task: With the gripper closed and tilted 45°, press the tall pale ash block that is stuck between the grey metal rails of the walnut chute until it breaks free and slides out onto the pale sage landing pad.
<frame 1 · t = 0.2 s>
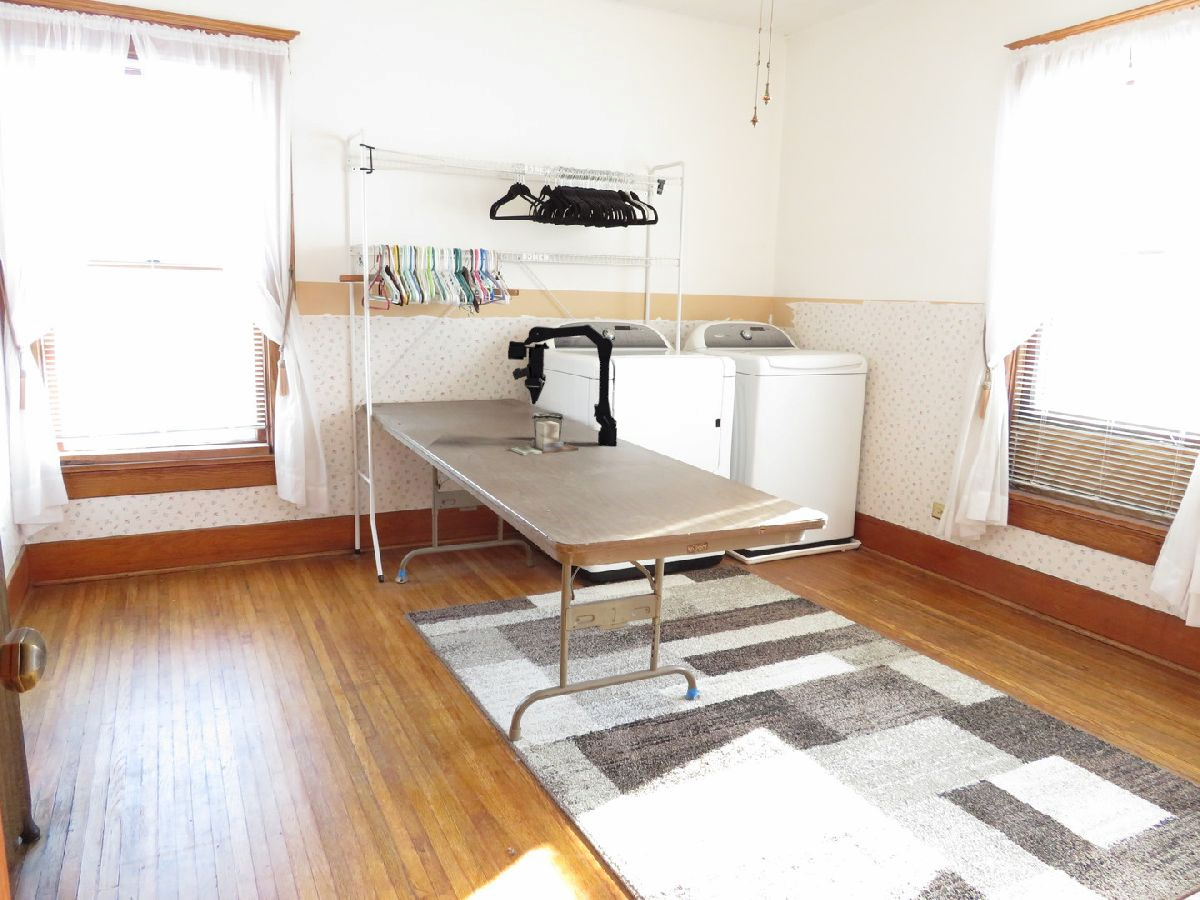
hand: (534, 402, 322), 15 cm above the table, tool pointing down, fingers open, 9 cm apart
food container: (548, 439, 332), on the table
jammed block: (547, 435, 310), point 5 cm above the table, slide at 0.0 cm
chute: (544, 450, 310), on the table
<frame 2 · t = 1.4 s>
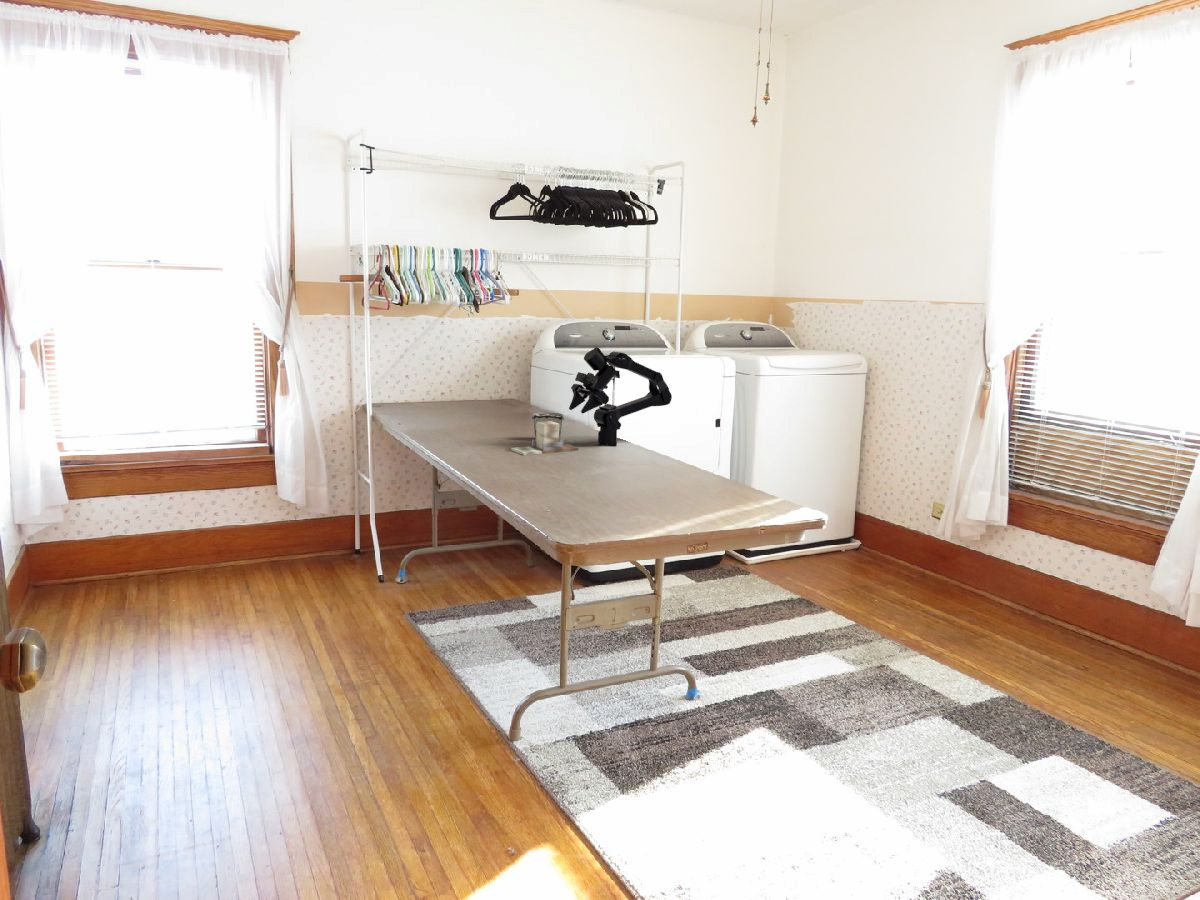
hand: (575, 411, 315), 13 cm above the table, tool tilted 45°, fingers open, 8 cm apart
nothing on the table moved.
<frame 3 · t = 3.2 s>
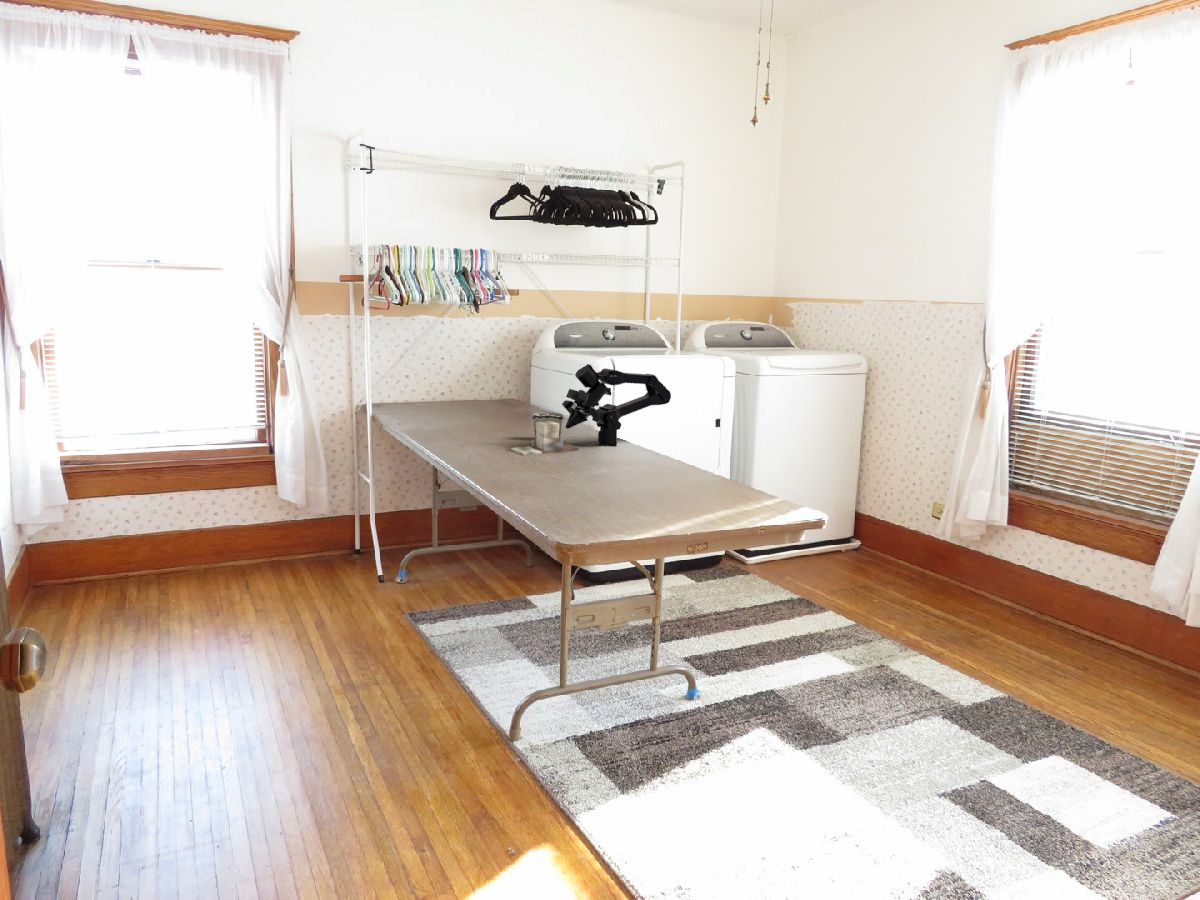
hand: (566, 427, 314), 8 cm above the table, tool tilted 45°, fingers closed
nothing on the table moved.
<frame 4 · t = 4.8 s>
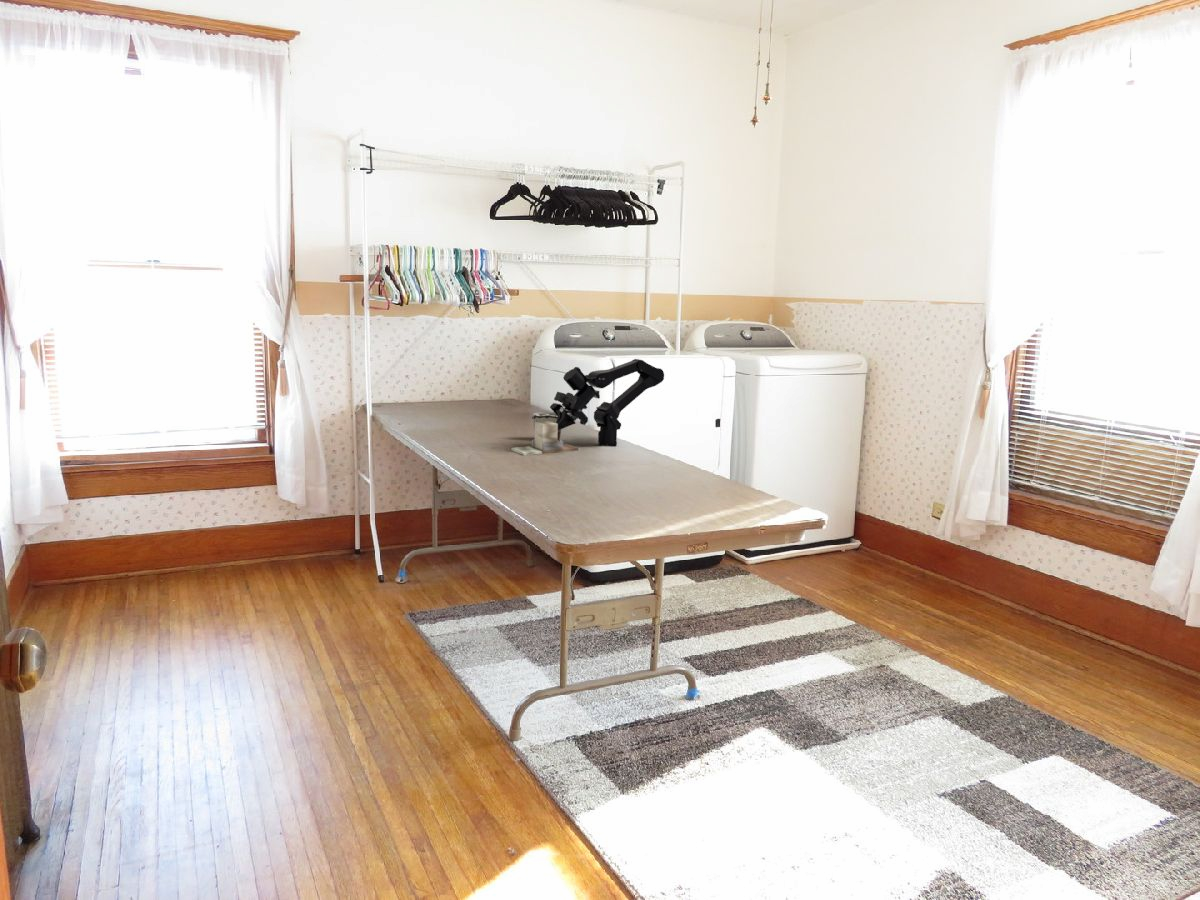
hand: (554, 430, 311), 7 cm above the table, tool tilted 45°, fingers closed, pressing on jammed block
jammed block: (546, 435, 309), point 5 cm above the table, slide at 0.7 cm, touching gripper
everything else where it was.
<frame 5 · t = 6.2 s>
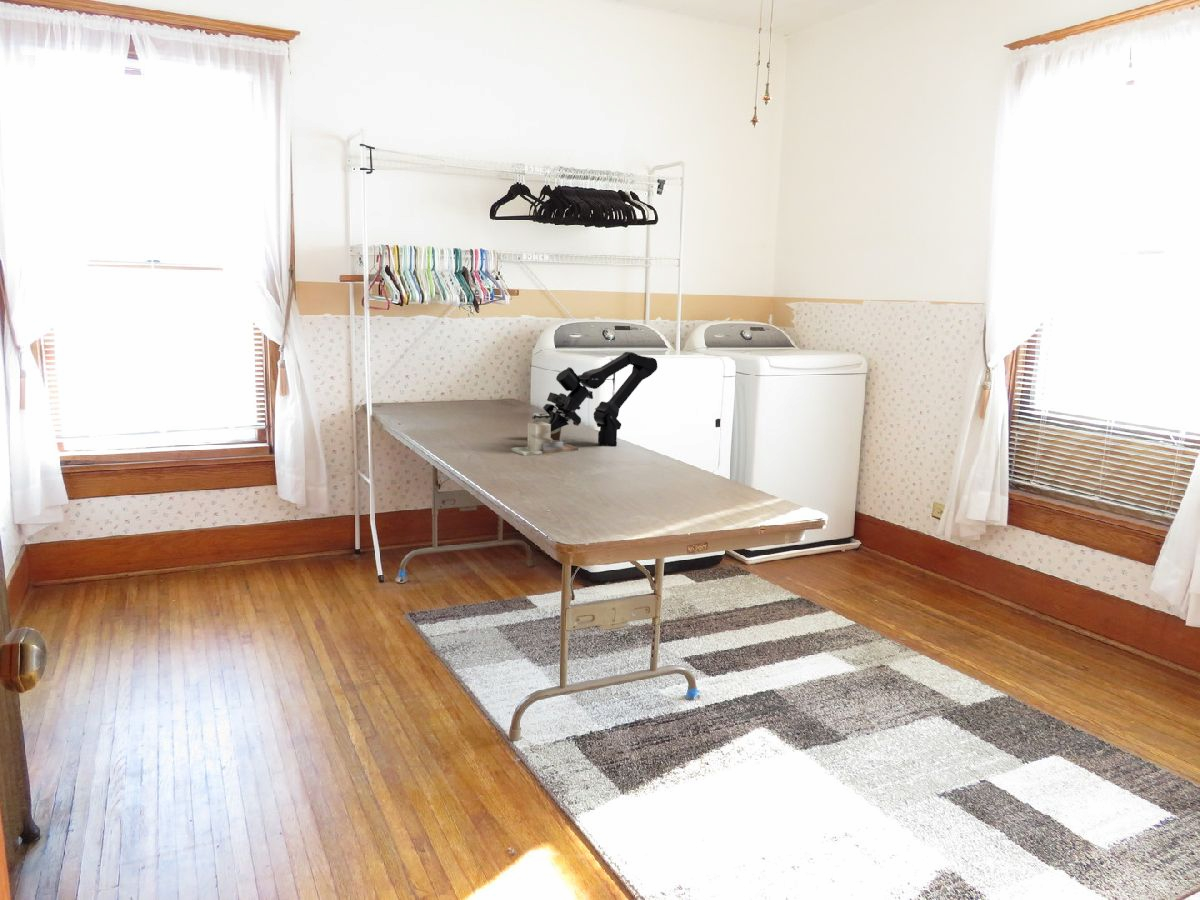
hand: (547, 431, 309), 7 cm above the table, tool tilted 45°, fingers closed, pressing on jammed block
jammed block: (539, 435, 308), point 5 cm above the table, slide at 3.5 cm, touching gripper
everything else where it was.
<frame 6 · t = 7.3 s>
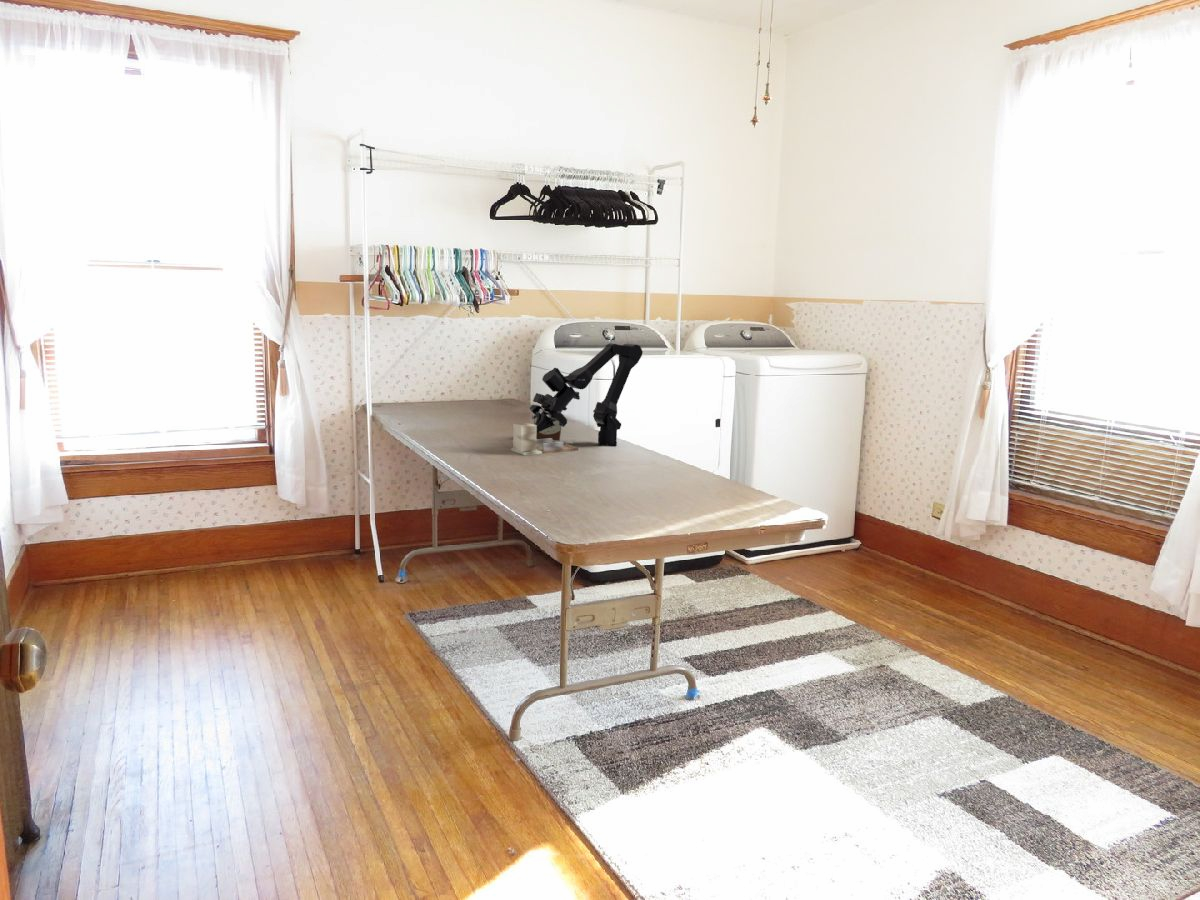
hand: (533, 432, 306), 7 cm above the table, tool tilted 45°, fingers closed, pressing on jammed block
jammed block: (524, 437, 305), point 5 cm above the table, slide at 9.2 cm, touching gripper
everything else where it was.
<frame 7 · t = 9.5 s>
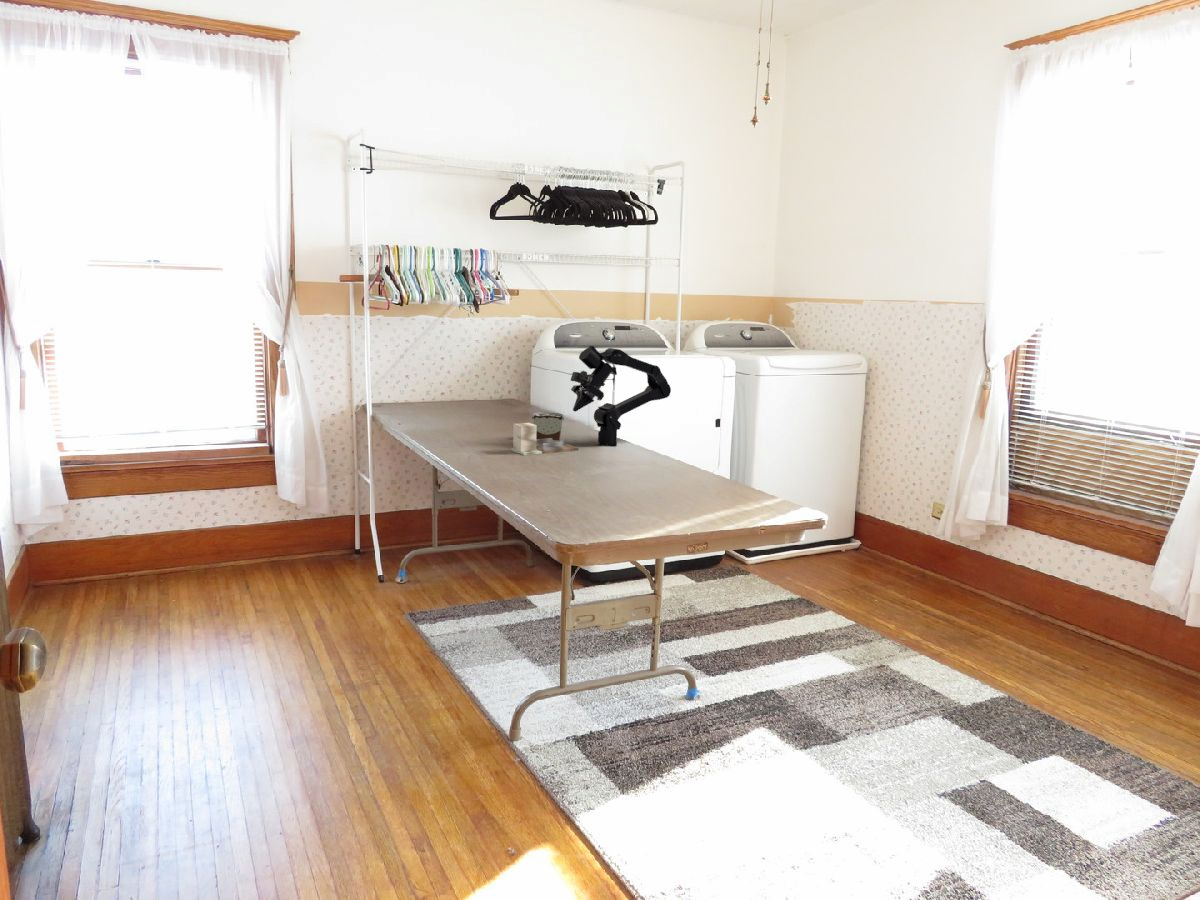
hand: (573, 410, 315), 13 cm above the table, tool tilted 40°, fingers closed
jammed block: (524, 437, 305), point 5 cm above the table, slide at 9.2 cm
everything else where it was.
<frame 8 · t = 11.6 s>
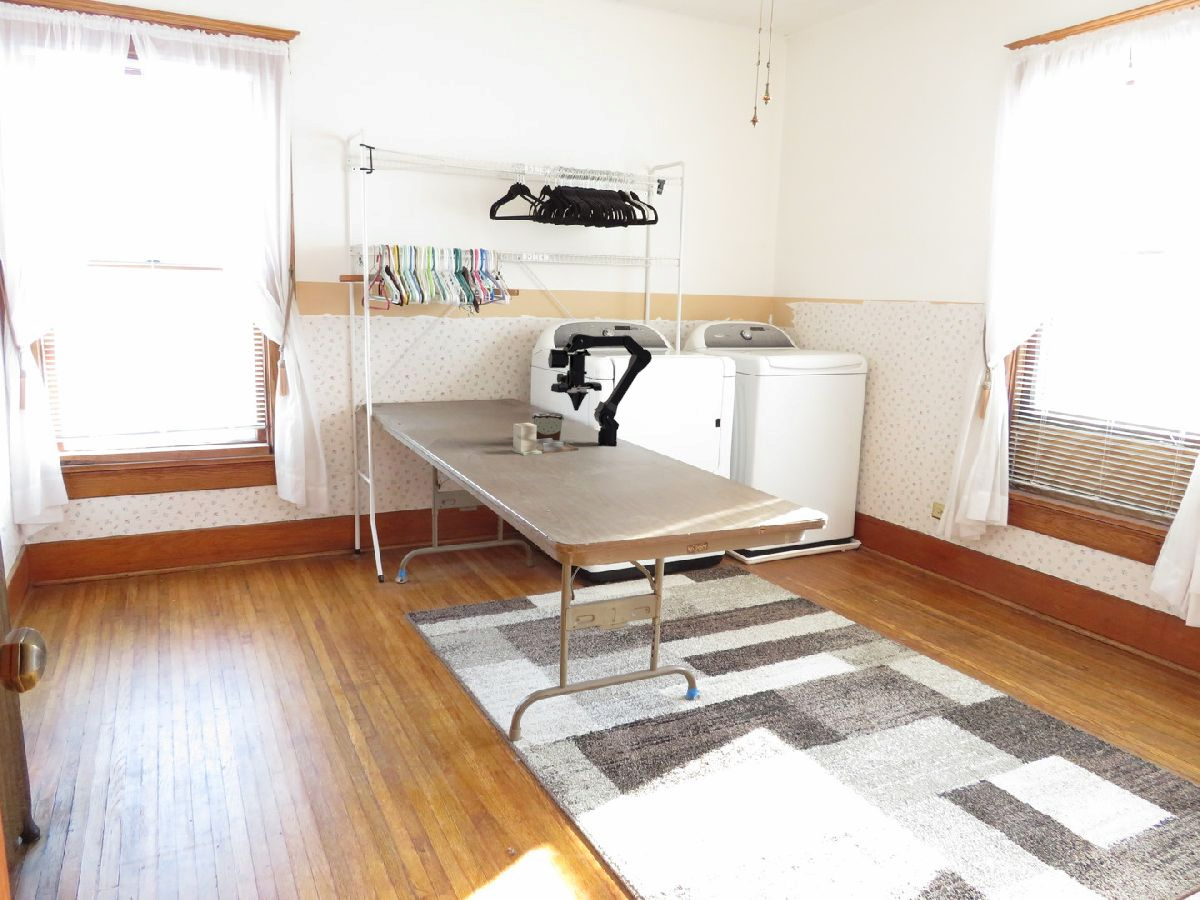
hand: (576, 410, 319), 13 cm above the table, tool pointing down, fingers closed
nothing on the table moved.
at the end: jammed block slide at 9.2 cm; the gripper is holding nothing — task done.
